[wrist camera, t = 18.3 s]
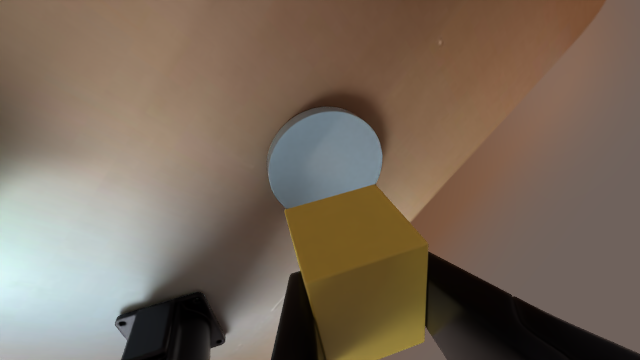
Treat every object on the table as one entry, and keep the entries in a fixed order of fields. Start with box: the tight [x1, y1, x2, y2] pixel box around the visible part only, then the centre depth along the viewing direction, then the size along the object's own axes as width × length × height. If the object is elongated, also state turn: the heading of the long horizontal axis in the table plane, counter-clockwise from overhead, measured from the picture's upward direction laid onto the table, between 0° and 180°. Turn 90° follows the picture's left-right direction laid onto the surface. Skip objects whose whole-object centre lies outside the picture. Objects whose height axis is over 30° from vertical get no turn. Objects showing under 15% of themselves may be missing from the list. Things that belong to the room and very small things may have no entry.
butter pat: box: [284, 184, 428, 360], centre depth 9 cm, size 4×3×3 cm
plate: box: [267, 107, 382, 209], centre depth 21 cm, size 8×8×1 cm
